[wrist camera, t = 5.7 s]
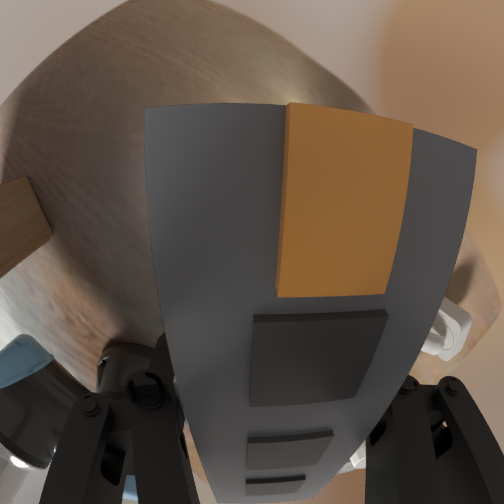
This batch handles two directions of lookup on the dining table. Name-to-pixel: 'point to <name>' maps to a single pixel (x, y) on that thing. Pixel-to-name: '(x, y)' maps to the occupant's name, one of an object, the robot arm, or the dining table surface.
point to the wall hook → (448, 331)
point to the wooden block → (20, 223)
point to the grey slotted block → (296, 278)
